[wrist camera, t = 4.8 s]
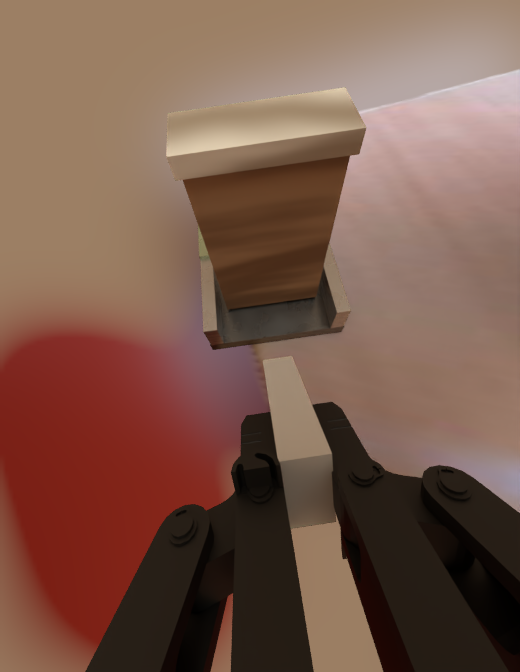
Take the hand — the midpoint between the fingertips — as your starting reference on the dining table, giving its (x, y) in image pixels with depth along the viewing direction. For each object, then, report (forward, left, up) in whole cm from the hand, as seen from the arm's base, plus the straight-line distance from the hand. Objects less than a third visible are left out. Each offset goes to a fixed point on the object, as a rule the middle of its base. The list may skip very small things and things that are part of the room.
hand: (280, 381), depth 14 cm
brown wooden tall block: (-10, -7, -9) cm, 15 cm away
